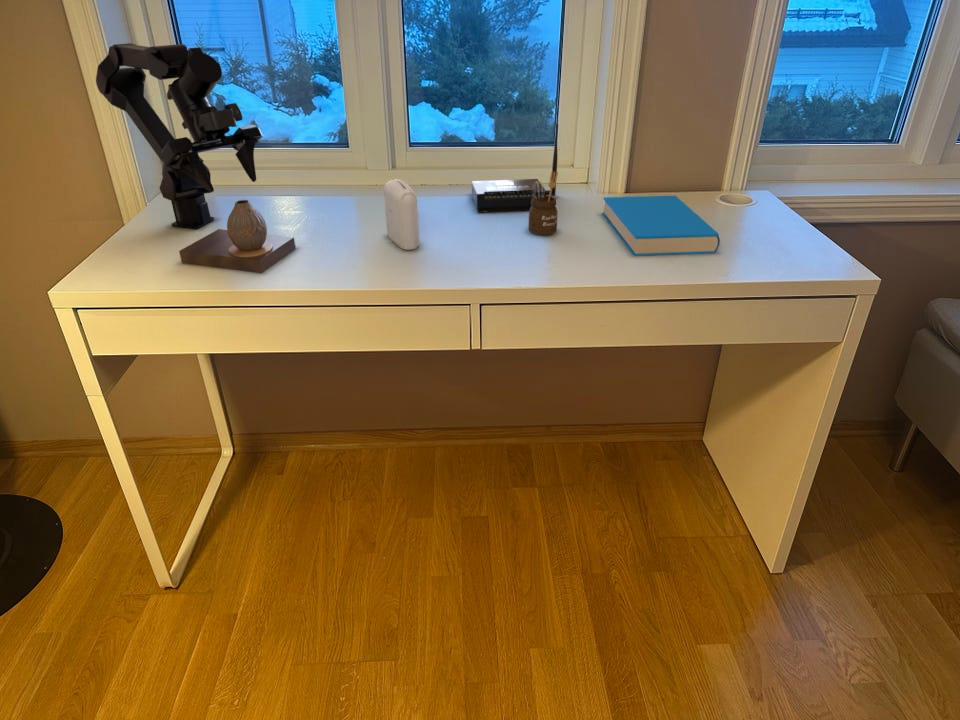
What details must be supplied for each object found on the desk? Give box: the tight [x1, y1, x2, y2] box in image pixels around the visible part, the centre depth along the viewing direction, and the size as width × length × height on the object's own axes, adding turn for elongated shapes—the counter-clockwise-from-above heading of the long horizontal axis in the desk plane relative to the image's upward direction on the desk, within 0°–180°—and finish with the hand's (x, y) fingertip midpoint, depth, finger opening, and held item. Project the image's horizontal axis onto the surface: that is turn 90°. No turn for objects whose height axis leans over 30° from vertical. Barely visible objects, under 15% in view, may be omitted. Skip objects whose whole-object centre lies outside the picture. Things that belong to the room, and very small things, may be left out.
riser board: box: [178, 228, 297, 274], centre depth 130 cm, size 17×12×3 cm
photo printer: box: [383, 178, 420, 251], centre depth 134 cm, size 10×4×12 cm, turn 26°
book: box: [601, 195, 721, 257], centre depth 141 cm, size 17×4×25 cm
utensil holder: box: [528, 170, 559, 237], centre depth 139 cm, size 6×6×12 cm
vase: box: [226, 199, 268, 251], centre depth 125 cm, size 7×7×9 cm
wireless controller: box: [471, 123, 559, 214], centre depth 155 cm, size 20×14×17 cm
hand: (234, 186), depth 130 cm, fingers open, 9 cm apart
